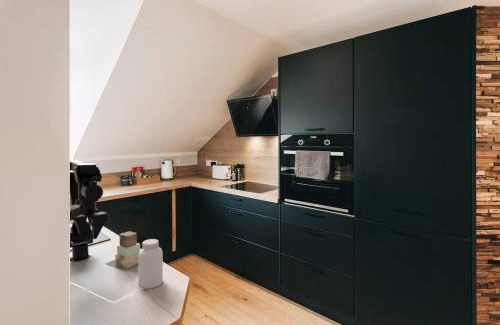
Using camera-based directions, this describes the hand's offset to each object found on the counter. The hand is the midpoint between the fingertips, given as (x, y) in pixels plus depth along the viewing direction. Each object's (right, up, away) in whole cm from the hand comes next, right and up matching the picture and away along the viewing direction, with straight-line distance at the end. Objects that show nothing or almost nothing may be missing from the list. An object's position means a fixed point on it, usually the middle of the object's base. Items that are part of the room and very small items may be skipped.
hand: (88, 236), depth 105 cm
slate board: (+12, -13, +6) cm, 18 cm away
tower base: (+13, -12, +6) cm, 19 cm away
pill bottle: (+27, -14, -9) cm, 32 cm away
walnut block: (+13, -5, +5) cm, 15 cm away
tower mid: (+13, -8, +6) cm, 16 cm away
